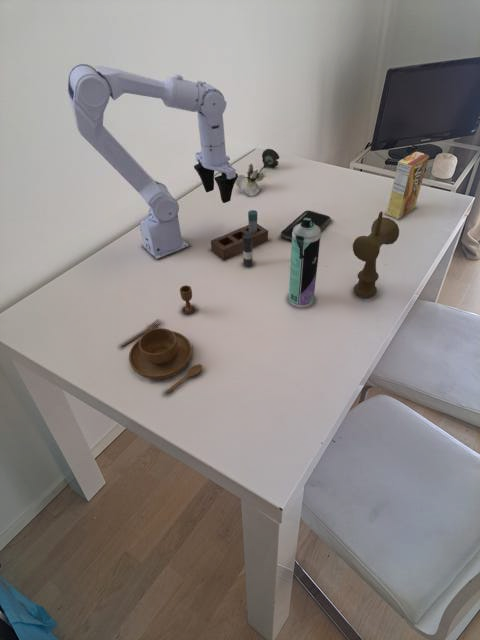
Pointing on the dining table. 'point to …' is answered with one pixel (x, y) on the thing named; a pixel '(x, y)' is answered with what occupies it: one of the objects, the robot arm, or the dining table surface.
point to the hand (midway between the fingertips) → (217, 196)
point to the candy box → (407, 184)
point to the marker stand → (237, 241)
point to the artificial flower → (250, 181)
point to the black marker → (247, 250)
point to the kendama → (373, 253)
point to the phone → (316, 218)
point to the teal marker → (252, 221)
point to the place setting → (163, 349)
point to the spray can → (304, 263)
